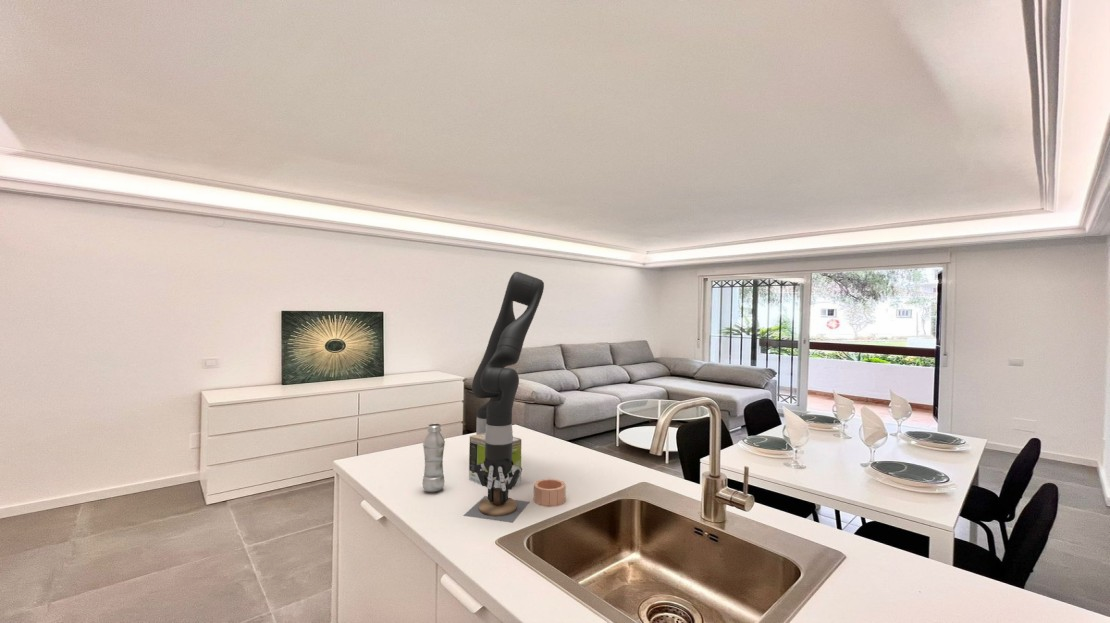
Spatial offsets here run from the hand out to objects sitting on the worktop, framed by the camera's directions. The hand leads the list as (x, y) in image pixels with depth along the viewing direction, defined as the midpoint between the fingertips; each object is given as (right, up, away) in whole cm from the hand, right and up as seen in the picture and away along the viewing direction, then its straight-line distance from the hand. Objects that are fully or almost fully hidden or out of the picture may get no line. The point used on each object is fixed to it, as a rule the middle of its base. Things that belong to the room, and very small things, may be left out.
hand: (497, 502), depth 129 cm
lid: (0, -2, 0) cm, 2 cm away
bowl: (+14, -3, +6) cm, 16 cm away
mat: (0, -2, 0) cm, 2 cm away
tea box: (-4, -3, +21) cm, 21 cm away
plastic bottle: (-21, -2, +13) cm, 25 cm away
